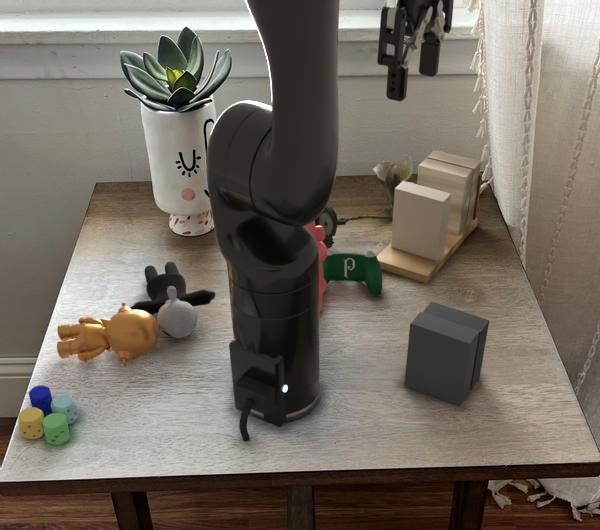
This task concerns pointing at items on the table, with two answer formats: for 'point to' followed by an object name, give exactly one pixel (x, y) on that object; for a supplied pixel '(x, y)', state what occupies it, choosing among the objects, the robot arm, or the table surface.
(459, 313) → the grey books
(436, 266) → the book shelf
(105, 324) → the figurine
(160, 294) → the figurine
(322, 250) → the figurine
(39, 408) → the multicoloured cylinder cluster
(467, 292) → the table surface
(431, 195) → the cream book
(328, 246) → the artificial flower
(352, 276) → the gaming controller
